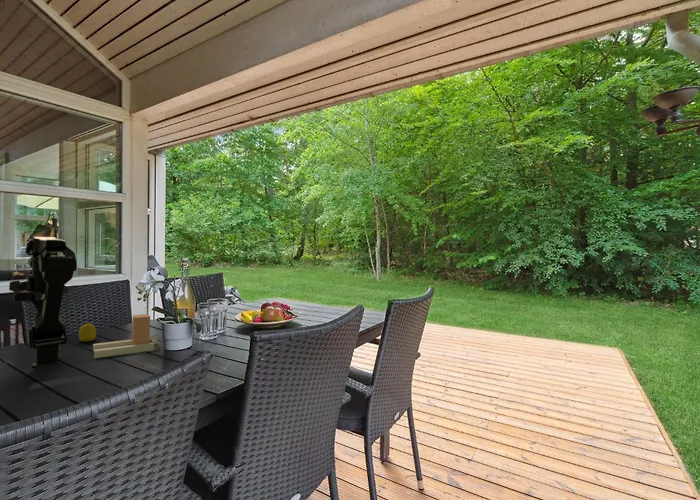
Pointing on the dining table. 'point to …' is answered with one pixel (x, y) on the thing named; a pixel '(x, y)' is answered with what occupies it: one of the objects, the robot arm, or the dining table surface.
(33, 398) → the dining table surface
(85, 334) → the lemon
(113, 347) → the chute
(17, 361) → the dining table surface
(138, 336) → the block
